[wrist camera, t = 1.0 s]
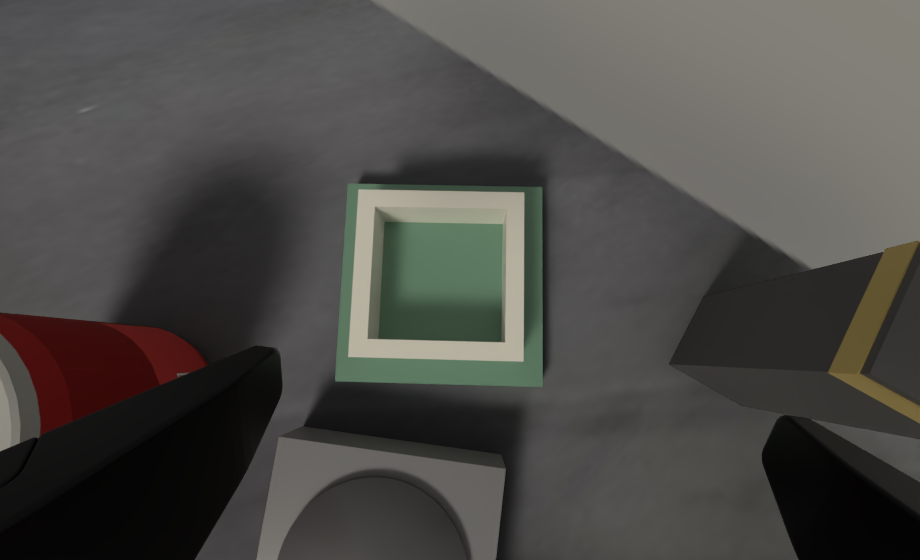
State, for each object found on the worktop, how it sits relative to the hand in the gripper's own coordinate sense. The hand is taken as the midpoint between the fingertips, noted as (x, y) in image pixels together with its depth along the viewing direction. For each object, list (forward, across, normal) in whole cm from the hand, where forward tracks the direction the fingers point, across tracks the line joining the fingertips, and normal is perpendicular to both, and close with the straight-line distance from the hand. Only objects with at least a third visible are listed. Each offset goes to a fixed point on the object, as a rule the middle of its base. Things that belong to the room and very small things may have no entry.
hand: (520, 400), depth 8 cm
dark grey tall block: (+14, -12, +6) cm, 20 cm away
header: (+15, +3, +5) cm, 16 cm away
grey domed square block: (+8, +4, +16) cm, 18 cm away
